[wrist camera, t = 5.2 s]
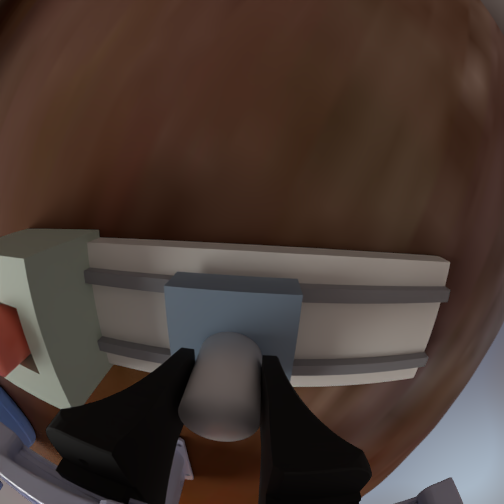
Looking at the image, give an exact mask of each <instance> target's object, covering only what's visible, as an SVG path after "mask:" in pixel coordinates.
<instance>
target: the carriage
mask: <svg viewBox="0 0 504 504" xmlns="http://www.w3.org/2000/svg"><path fill="white" fill-rule="evenodd" d="M164 294H165V306H166V317H167V327H168V336H169V344H170V352H171V356H172V355H173V354H174V353H175V352H177V351H178V350H179V349H180V348H181V347H182V348H190V349H194V351H195V364H194V367H193V370H192V372H191V375H190V378H189V380H188V383H187V386H186V388H185V391H184V394H183V397H182V399H181V402H180V405H179V408H178V414H179V417H180V419H181V421H182V422H183V424H184V425H185V426H186V427H187V428H188V429H190V430H191V431H192V432H194V433H196V434H198V435H200V436H202V437H204V438H207V439H211V440H216V441H225V442H230V441H238V440H242V439H245V438H248V437H250V436H251V435H253V434H254V433H255V432H256V431H257V430H258V428H259V426H260V415H261V369H262V356H263V355H271V356H277V357H278V358H279V361H280V363H281V366H282V368H283V370H284V372H285V374H286V376H287V378H288V380H289V381H290V380H291V374H292V368H293V362H294V356H295V349H296V343H297V336H298V329H299V322H300V314H301V306H302V298H303V294H302V291H301V288H300V284H299V281H298V279H291V278H271V277H253V276H236V275H220V274H205V273H191V272H178V271H177V272H176V273H175V274H174V276H173V277H172V278H171V279H170V280H169V281H168V282H167V283H166V284H165V285H164Z"/></svg>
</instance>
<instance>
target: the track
mask: <svg viewBox="0 0 504 504" xmlns="http://www.w3.org/2000/svg"><path fill="white" fill-rule="evenodd" d="M449 266H450V262H449V261H447V260H445V259H443V258H441V257H439V256H431V255H417V254H401V253H386V252H370V251H354V250H338V249H321V248H304V247H286V246H268V245H249V244H231V243H211V242H191V241H170V240H149V239H126V238H103V237H100V236H99V230H85V229H25V230H22V231H18V232H15V233H12V234H9V235H6V236H2V237H0V304H2V303H3V304H6V305H9V306H12V307H14V308H17V312H18V316H19V319H20V322H21V325H22V329H23V332H24V335H25V338H26V340H27V343H28V346H29V349H30V351H31V354H30V355H29V356H28V357H27V358H26V359H25V360H23V361H22V362H21V363H20V364H19V365H18V366H17V367H16V368H15V369H14V370H12V371H11V372H10V373H9V374H8V375H7V376H6V377H4V378H5V379H7V380H9V381H10V382H12V383H13V384H15V385H17V386H18V387H20V388H22V389H23V390H25V391H27V392H29V393H30V394H32V395H34V396H36V397H38V398H39V399H41V400H43V401H45V402H47V403H49V404H51V405H53V406H55V407H57V408H60V409H64V408H70V407H76V406H81V405H84V403H85V402H86V401H87V399H88V398H89V397H90V395H91V394H92V392H93V391H94V390H95V388H96V387H97V386H98V384H99V383H100V382H101V380H102V379H103V378H104V376H105V375H106V374H107V372H108V371H109V370H110V368H111V367H112V366H113V364H115V365H119V366H123V367H128V368H132V369H137V370H141V371H146V372H153V371H154V370H155V369H156V368H158V367H159V366H160V365H161V364H163V363H164V362H165V361H166V360H167V359H169V358H170V357H171V352H170V344H169V336H168V327H167V317H166V306H165V294H164V285H165V284H166V283H167V282H168V281H169V280H170V279H171V278H172V277H173V276H174V274H175V273H176V272H177V271H178V272H191V273H205V274H220V275H236V276H253V277H271V278H291V279H298V281H299V284H300V288H301V291H302V294H303V298H302V306H301V314H300V322H299V329H298V336H297V343H296V349H295V356H294V362H293V368H292V374H291V380H290V383H291V385H292V387H317V386H342V385H357V384H368V383H378V382H387V381H395V380H402V379H409V378H414V375H415V373H416V371H417V368H418V367H423V366H425V364H426V362H427V359H428V356H427V355H426V353H425V352H424V351H425V348H426V346H427V343H428V340H429V338H430V335H431V332H432V329H433V326H434V323H435V320H436V316H437V313H438V310H439V306H440V303H441V302H448V298H449V294H450V291H451V290H450V289H448V288H447V287H445V284H446V280H447V275H448V271H449Z"/></svg>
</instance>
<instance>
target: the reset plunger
mask: <svg viewBox="0 0 504 504" xmlns="http://www.w3.org/2000/svg"><path fill="white" fill-rule="evenodd" d="M30 354H31V351H30V349H29V346H28V343H27V340H26V338H25V335H24V332H23V329H22V325H21V322H20V319H19V316H18V312H17V308H14V307H12V306H9V305H6V304H3V303H2V304H0V376H2V377H6V376H7V375H8V374H9V373H10V372H11V371H12V370H14V369H15V368H16V367H17V366H18V365H19V364H20V363H21V362H22V361H23V360H25V359H26V358H27V357H28V356H29V355H30Z"/></svg>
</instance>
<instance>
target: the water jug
mask: <svg viewBox="0 0 504 504" xmlns="http://www.w3.org/2000/svg"><path fill="white" fill-rule="evenodd" d="M0 422H2V423H3V424H4V425H5V426H7V427H8V428H9V429H11V430H12V431H13V432H14V433H15V434H16V435H17V436H18V437H19V438H20V439H21V441H22V442H23V444H24V445H25V446H27V447H28V448H29V447H30V446H32V444H33V443H34V442H35V440H36V434H35V431H34V429H33V427H32V426H31V424H30V422H29V421H28V419H27V418H26V416H25V415H24V414H23V412H22V411H21V410H20V409H19V407H18V406H17V405H16V404H15V402H14V401H13V400H12V399H11V398H10V396H9V395H8V394H7V393H6V392H5V391H4V390H3V388H2V387H1V386H0ZM2 486H3V484H2V482H1V481H0V490H1V488H2Z"/></svg>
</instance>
